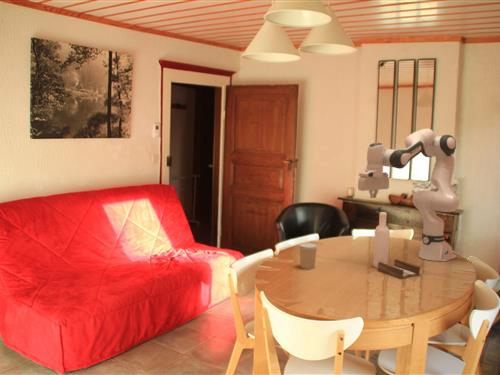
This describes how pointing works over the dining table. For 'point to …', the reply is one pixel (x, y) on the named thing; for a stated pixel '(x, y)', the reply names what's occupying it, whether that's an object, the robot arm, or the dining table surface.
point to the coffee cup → (307, 255)
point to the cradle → (399, 269)
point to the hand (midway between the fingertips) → (373, 197)
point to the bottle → (381, 241)
